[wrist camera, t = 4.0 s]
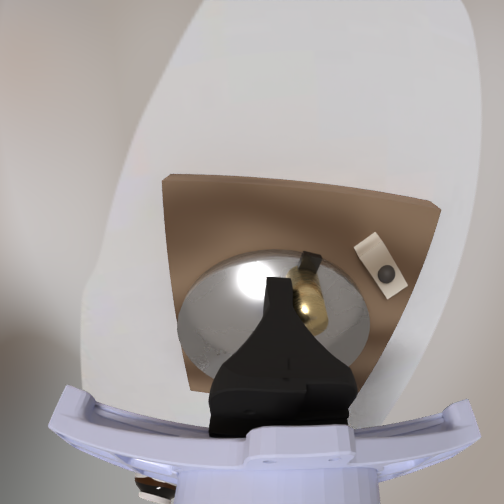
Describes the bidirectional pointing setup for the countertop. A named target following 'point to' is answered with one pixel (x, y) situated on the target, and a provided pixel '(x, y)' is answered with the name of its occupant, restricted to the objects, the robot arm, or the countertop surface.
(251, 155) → the countertop surface
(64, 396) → the robot arm
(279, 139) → the countertop surface
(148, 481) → the spread jar
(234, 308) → the cam dial
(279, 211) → the stand
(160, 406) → the countertop surface
